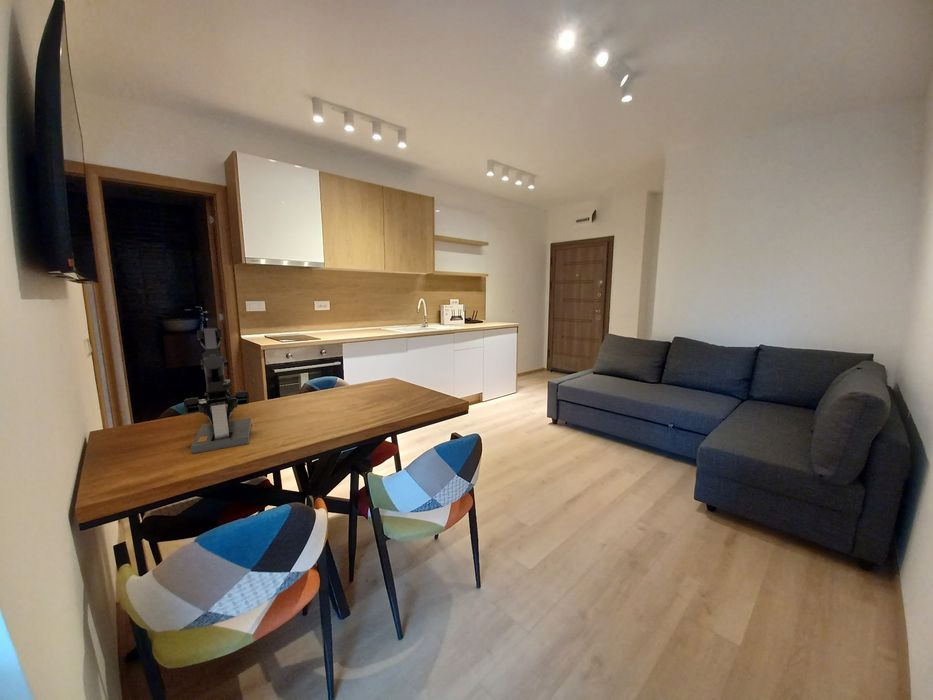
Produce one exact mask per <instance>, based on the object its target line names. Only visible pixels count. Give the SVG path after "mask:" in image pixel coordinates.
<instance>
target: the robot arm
mask: <svg viewBox="0 0 933 700" xmlns="http://www.w3.org/2000/svg"><path fill="white" fill-rule="evenodd" d="M196 333H197V334H196V335H197V340H198V341H200V345H201V346H202V347H203V349H204V350H205V351H204V352H203V353H202V355H201V356H202V359H200V368H201V370H203V371H204V374H205V382H206V383H205V384H206V387H205V392H204V398H202V399H199V397H198V396H197V397H189V398H184V400H183V406H184V410H185V413H186V414H191V413H193V414H194V413H197V412H199V414H203V415H205V416H206V418H207V419H208V420H209V423H210V424H211V423H212V424H213V417H212V409H211V403H216V402H223V401H225V405H226V413H227V422H229V421H230V418H231V416H232V413H233V411H234V409H235V408H238V406H242V405H248V404H249V403H250V395H249V391H247V390H240V391H235V395H232V392H230V390H231V389H232V384H231V383H232V382H231V378H228V379H226V377H225V368H226V367H227V366H228V365H229V362H228V360H227V359H226V357H224V356H223V351H220V350H219V347H220V345H221V344H222V343H221V339H223V333H222V329H221V328H218V327H204V328H200V329H198V330H196Z"/></svg>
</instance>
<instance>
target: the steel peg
mask: <svg viewBox="0 0 933 700" xmlns="http://www.w3.org/2000/svg"><path fill="white" fill-rule="evenodd" d="M211 409H212V417H213V425H214V433H215V440H221V439H227V438H229V431H228V422H227V413H226V405H225V401H223V402H216V403H211Z"/></svg>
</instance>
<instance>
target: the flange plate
mask: <svg viewBox="0 0 933 700" xmlns="http://www.w3.org/2000/svg"><path fill="white" fill-rule="evenodd" d="M251 428H252V418H251V417H246V418H241V419H234V420H233V419H232V420H229V422H228V431H229V438H227V439H221V440H215V433H214V425H213V424H212V423H211V422H210V423H206V424H205V423H204V424H201V426H200V428H199V430H198V432H197V434H196V436H195V438H194V440H193V442H192V444H191V446H190V449H191V454H197V453H198V454H199V453H204V452H211V451H215V450H222V449H227V448H232V447H238V446H243V445H249V443H250V436H251V430H252V429H251Z"/></svg>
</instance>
